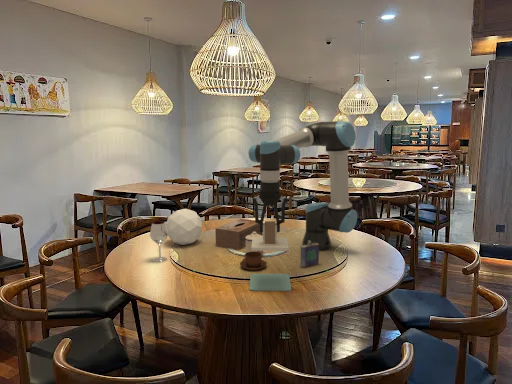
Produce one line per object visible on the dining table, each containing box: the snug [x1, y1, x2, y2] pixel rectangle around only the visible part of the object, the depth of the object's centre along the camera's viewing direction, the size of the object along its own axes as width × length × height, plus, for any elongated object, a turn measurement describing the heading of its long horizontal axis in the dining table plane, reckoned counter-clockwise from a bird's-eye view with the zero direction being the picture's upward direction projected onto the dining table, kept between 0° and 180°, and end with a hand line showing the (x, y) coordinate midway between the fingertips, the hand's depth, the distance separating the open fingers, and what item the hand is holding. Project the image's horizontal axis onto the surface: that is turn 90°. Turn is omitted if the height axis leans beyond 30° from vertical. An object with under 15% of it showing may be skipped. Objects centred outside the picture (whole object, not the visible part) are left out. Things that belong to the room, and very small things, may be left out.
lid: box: [251, 220, 289, 252], centre depth 148 cm, size 14×14×9 cm
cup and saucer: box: [239, 252, 268, 271], centre depth 168 cm, size 12×12×6 cm
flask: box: [299, 240, 320, 269], centre depth 169 cm, size 10×3×12 cm, turn 121°
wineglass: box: [149, 221, 169, 263], centre depth 177 cm, size 8×8×18 cm
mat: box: [248, 273, 292, 292], centre depth 151 cm, size 16×16×1 cm
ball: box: [165, 208, 203, 246], centre depth 204 cm, size 19×20×20 cm
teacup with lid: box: [245, 232, 264, 257], centre depth 185 cm, size 12×9×12 cm
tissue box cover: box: [214, 218, 263, 251], centre depth 207 cm, size 26×14×10 cm, turn 151°
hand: (269, 240), depth 148 cm, fingers closed on lid, 4 cm apart
